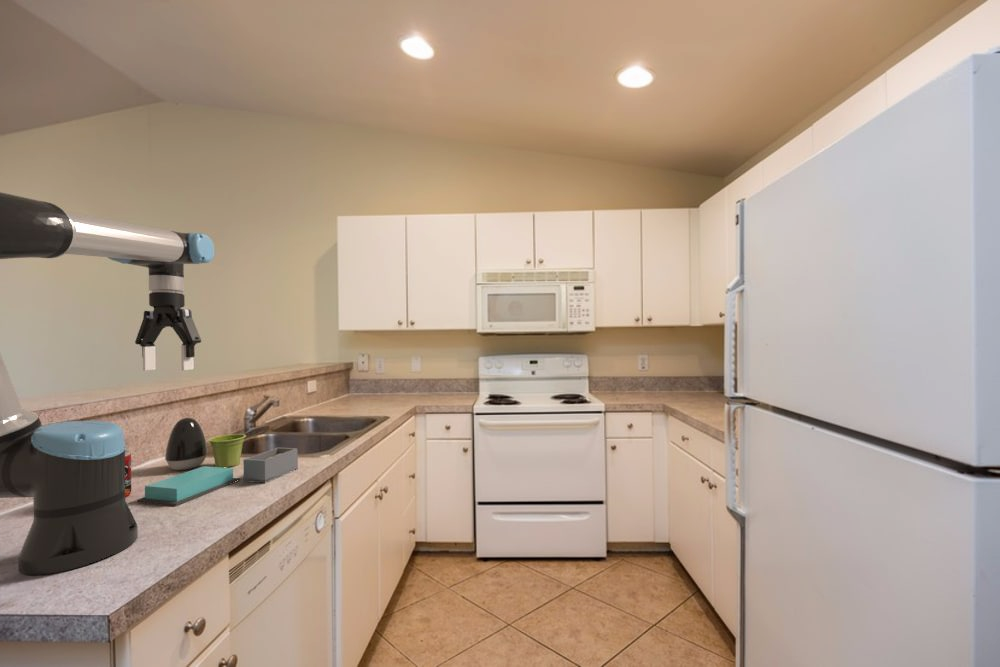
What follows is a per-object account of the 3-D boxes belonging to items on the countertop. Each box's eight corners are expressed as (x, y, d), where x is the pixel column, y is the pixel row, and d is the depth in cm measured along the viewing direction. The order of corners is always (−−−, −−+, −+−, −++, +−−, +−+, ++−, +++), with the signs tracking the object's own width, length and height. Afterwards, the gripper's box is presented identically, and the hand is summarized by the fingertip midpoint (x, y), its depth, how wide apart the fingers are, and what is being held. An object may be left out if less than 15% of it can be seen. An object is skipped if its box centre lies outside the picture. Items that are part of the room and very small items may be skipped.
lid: (233, 479, 110) (233, 468, 110) (177, 501, 95) (176, 488, 95) (204, 477, 112) (203, 466, 112) (144, 498, 97) (144, 485, 97)
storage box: (297, 468, 119) (297, 448, 119) (265, 483, 108) (264, 460, 108) (278, 467, 121) (277, 447, 121) (243, 481, 109) (243, 459, 109)
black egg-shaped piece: (206, 460, 130) (205, 413, 130) (209, 467, 122) (208, 417, 122) (165, 467, 124) (164, 417, 124) (165, 475, 116) (164, 422, 116)
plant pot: (220, 461, 128) (219, 434, 128) (251, 460, 129) (251, 433, 129) (202, 471, 119) (201, 442, 119) (236, 469, 120) (235, 440, 120)
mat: (176, 506, 94) (176, 503, 94) (137, 502, 97) (137, 499, 97) (239, 480, 110) (239, 478, 110) (204, 477, 113) (204, 475, 113)
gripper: (216, 291, 111) (217, 368, 111) (147, 296, 117) (148, 368, 117) (189, 288, 104) (190, 370, 104) (117, 293, 110) (118, 371, 110)
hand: (168, 370), depth 111 cm, fingers open, 13 cm apart
